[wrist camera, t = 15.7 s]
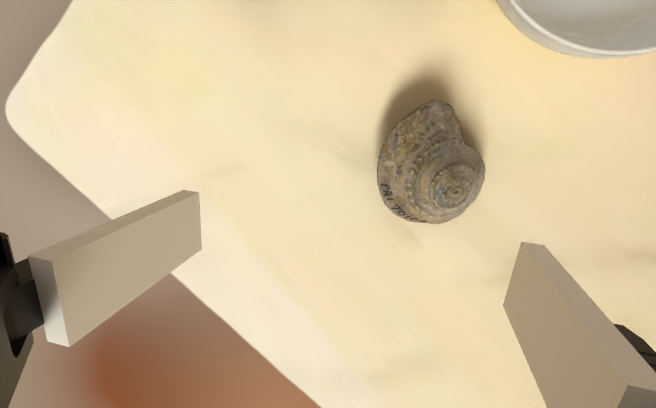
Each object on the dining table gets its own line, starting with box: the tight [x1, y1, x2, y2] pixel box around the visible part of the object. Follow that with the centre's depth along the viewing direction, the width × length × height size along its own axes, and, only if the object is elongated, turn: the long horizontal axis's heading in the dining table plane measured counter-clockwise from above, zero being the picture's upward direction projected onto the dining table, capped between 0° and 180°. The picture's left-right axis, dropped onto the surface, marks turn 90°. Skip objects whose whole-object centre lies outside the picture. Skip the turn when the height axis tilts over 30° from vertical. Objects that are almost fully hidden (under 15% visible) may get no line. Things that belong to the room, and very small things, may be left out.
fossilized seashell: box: [377, 100, 485, 224], centre depth 33 cm, size 11×10×7 cm
